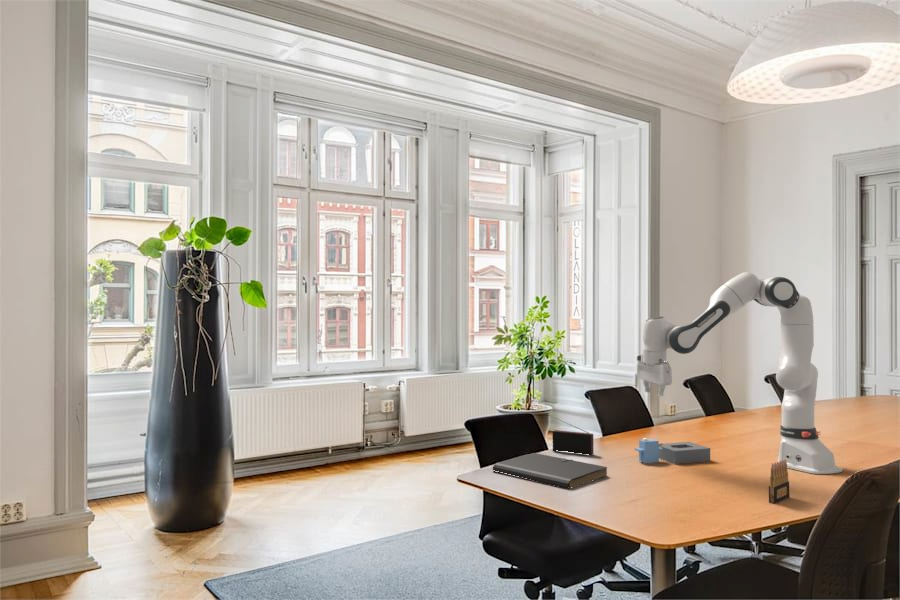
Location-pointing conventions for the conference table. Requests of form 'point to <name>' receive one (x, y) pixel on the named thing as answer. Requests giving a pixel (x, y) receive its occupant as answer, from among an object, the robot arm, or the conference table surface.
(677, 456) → the grey socket block
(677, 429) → the conference table surface
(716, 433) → the conference table surface
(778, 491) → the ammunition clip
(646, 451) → the servo
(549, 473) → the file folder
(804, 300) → the robot arm
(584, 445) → the radio
